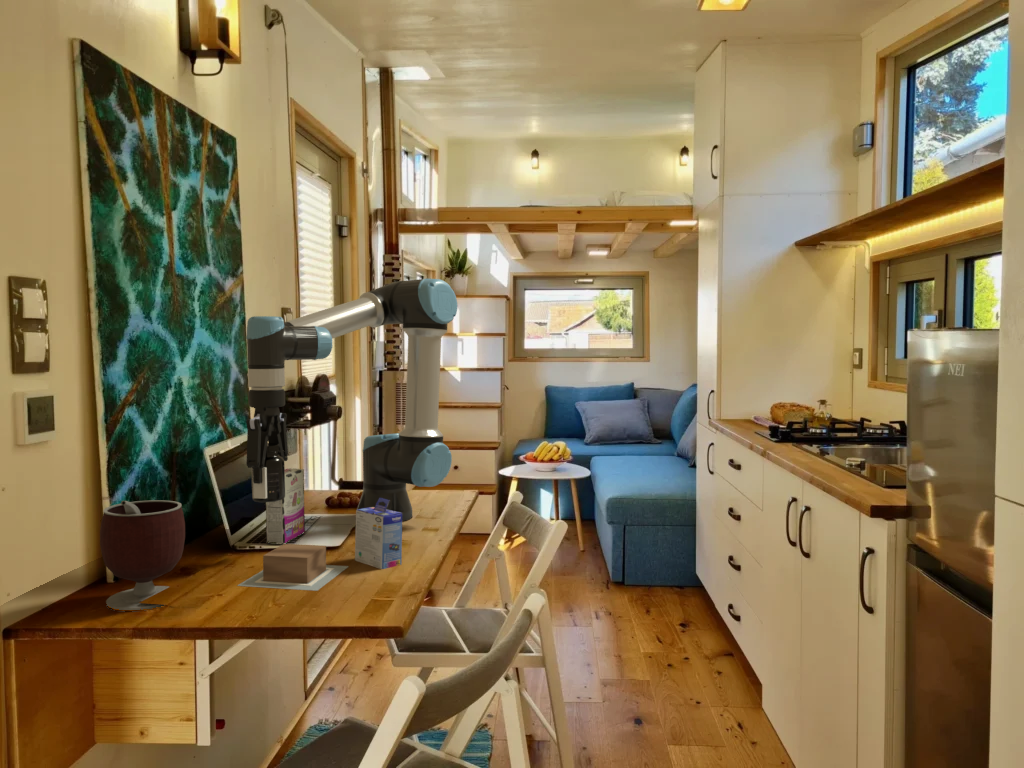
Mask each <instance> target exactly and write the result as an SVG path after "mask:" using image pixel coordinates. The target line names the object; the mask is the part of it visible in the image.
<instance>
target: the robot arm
mask: <svg viewBox="0 0 1024 768" xmlns="http://www.w3.org/2000/svg"><path fill="white" fill-rule="evenodd" d="M455 293H456V292H454V289H452V287H451V285H450V284H449V283H448V282H446V281H445V280H443V279H439V278H422V279H421V278H420V279H409V280H399V281H395V282H391V283H389V284H385V285H383V286H380V287H378V288H374V289H372V290H370V291H366V292H364V293H362V294H361V295H360V296H359V298H357V299H354V300H351V301H348V302H345V303H344V302H343V303H341V304H338V305H334V306H332V307H329V308H324V309H322V310H319V311H316V312H312V313H309V314H306V315H303V316H300V317H297V318H293V319H290V320H286V321H285V320H284V318H283V317H282V316H274V315H273V316H270V315H268V316H267V315H266V316H263V315H262V316H261V315H260V316H259V315H258V316H257V315H255V316H251V317H249V318H248V320H247V323H246V325H247V326H246V335H245V336H246V349H247V350H246V352H247V355H246V357H247V368H248V369H247V374H246V376H247V379H248V380H247V384H248V385H247V386H248V387H249V388H250V389H249V390H248V394H247V395H248V406H249V407H250V408H253V409H254V412H253V413H254V414H253V418H246V421H245V422H246V429H247V430H246V431H247V435H246V436H247V437H246V438H247V439H246V464H245V465H246V466H247V468H248V469H249V468H250V469H252V468H253V495H254V498H260V499H266V498H267V467H264V464H265V457H266V450H267V444H268V443H277V444H279V450H280V452H279V453H278V455H280V456H281V457H283V459H284V462H287V461H288V460H289V457H288V456H289V451H288V446H289V445H288V436H287V434H288V432H287V416H288V415H287V413H286V412H280V408H281V407H285V405H286V391H285V389H283V387H285V386H286V376H285V375H286V374H285V373H286V372H285V366H286V365H285V362H286V361H291V360H292V361H294V360H295V361H302V360H303V361H309V360H311V361H316V360H324V359H326V358H328V357H329V356H330V354H331V353H332V350H333V339H335V338H339V337H342V336H344V335H347V334H350V333H352V332H356V331H358V330H361V329H363V328H367V327H370V328H374V329H375V328H379V327H381V326H387V325H402V331H403V332H404V333H405V334H406V335H407V339H408V341H407V362H406V363H407V367H406V393H405V394H406V395H405V417H404V418H405V420H404V423H405V424H404V428H403V429H402V430H401V431H400V432H399V433H398V432H396V433H386V434H377V435H376V434H375V435H368V436H366V437H365V438H364V440H363V448H362V470H363V471H362V479H363V482H362V485H363V487H362V494H361V496H360V499H359V502H358V505H357V508H356V510H357V509H363V508H369V507H375V506H376V503H377V501H378V500H379V498H383V499H387V500H390V502H389V504H388V507H387V510H391V511H396V512H401V513H402V522H405V521H408V520H411V519H412V518H413V507H412V503H411V500H410V498H409V497H410V496H409V494H408V492H407V491H408V490H407V485H414V486H415V487H418V488H420V487H425V488H426V487H428V488H431V487H436V486H438V485H440V484H441V483H442V482H443V481H444V479H445V478H447V476H448V474H449V473H450V470H451V467H452V461H453V460H452V459H453V458H452V452H451V451H450V448H449V447H448V445H446V444H445V443H444V434H443V433H442V431H441V430H440V429H439V406H440V405H439V403H440V382H441V381H440V380H441V379H440V377H441V353H442V352H441V351H442V350H441V349H442V338H443V336H444V335H445V334H446V333H447V332H448V324H450V323H451V322H452V321H454V320H455V319H454V317H456V315H457V312H458V300H457V296H456V295H457V294H455ZM379 505H382V506H385V505H386V504H385V503H384V502H380V503H379ZM411 517H412V518H411Z"/></svg>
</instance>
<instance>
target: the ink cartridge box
mask: <svg viewBox="0 0 1024 768" xmlns="http://www.w3.org/2000/svg"><path fill="white" fill-rule="evenodd" d="M380 502H384V503H385V504H386V505H385V506H382V505H379V503H380ZM389 502H390V500H387V499H383V498H379V500H378V501H377V503H376V506H375V507H369V508H363V509H357V508H356V510H355V538H354V540H355V543H354V545H355V546H354V561H356V562H358V563H362V564H364V565H368V566H370V567H373V568H377V569H380V570H384V569H385V570H386V569H389V568H394V567H398V566H402V563H403V562H402V558H403V557H402V556H403V553H402V552H403V551H402V549H403V521H402V513H401V512H396V511H391V510H387V507H388V504H389Z"/></svg>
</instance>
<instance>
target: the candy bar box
mask: <svg viewBox="0 0 1024 768" xmlns="http://www.w3.org/2000/svg"><path fill="white" fill-rule="evenodd" d="M304 471H305V469H304V468H292V467H291V468H285V498H284V499H282V500H279V501H275V502H265V517H266V518H265V522H266V523H265V526H266V527H265V528H266V529H265V530H266V531H265V532H266V542H267V541H269V542H277V543H286V542H288V541H289V540H291V539H293V538H295V537H297V536H298V535H300V534H302V533H303V532H305V533H306V530H305V528H306V527H305V526H306V525H305V522H306V521H305V520H306V519H305V479H304V478H305V475H304V474H305V473H304ZM297 538H298V537H297Z"/></svg>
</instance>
